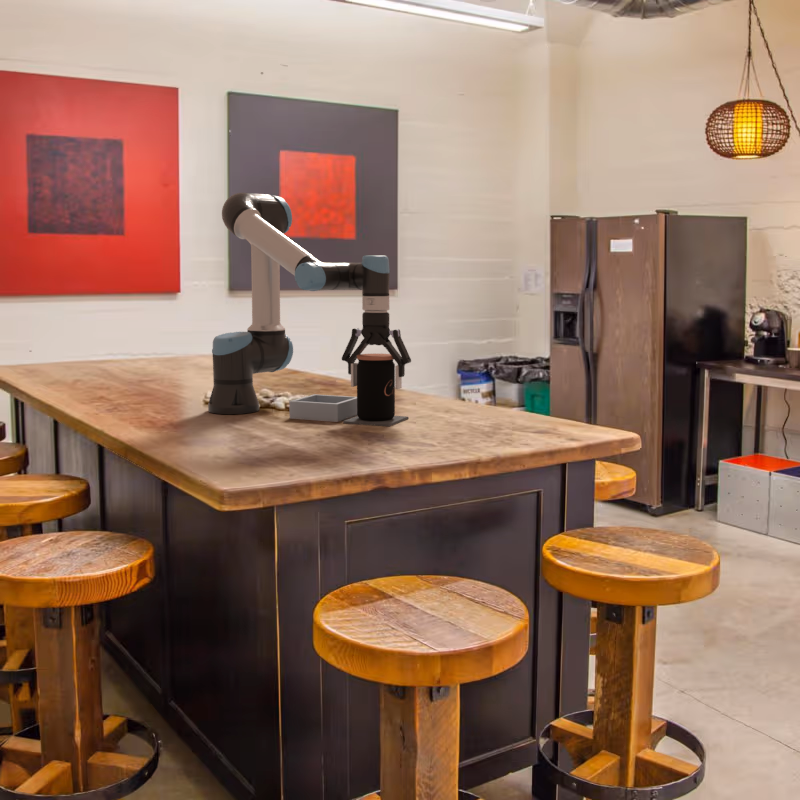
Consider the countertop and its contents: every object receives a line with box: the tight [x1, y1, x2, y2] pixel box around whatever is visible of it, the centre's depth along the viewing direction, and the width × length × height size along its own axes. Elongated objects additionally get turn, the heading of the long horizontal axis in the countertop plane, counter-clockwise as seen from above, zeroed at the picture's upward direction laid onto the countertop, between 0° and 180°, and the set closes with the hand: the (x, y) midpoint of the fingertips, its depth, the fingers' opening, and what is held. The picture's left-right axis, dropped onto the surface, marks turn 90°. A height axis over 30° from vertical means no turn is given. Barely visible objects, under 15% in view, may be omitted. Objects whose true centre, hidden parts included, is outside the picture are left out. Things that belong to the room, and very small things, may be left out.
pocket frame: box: [288, 393, 357, 423], centre depth 267 cm, size 15×15×5 cm
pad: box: [342, 415, 409, 427], centre depth 259 cm, size 14×14×1 cm
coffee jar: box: [356, 353, 396, 421], centre depth 258 cm, size 11×11×18 cm
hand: (376, 387), depth 258 cm, fingers open, 13 cm apart
